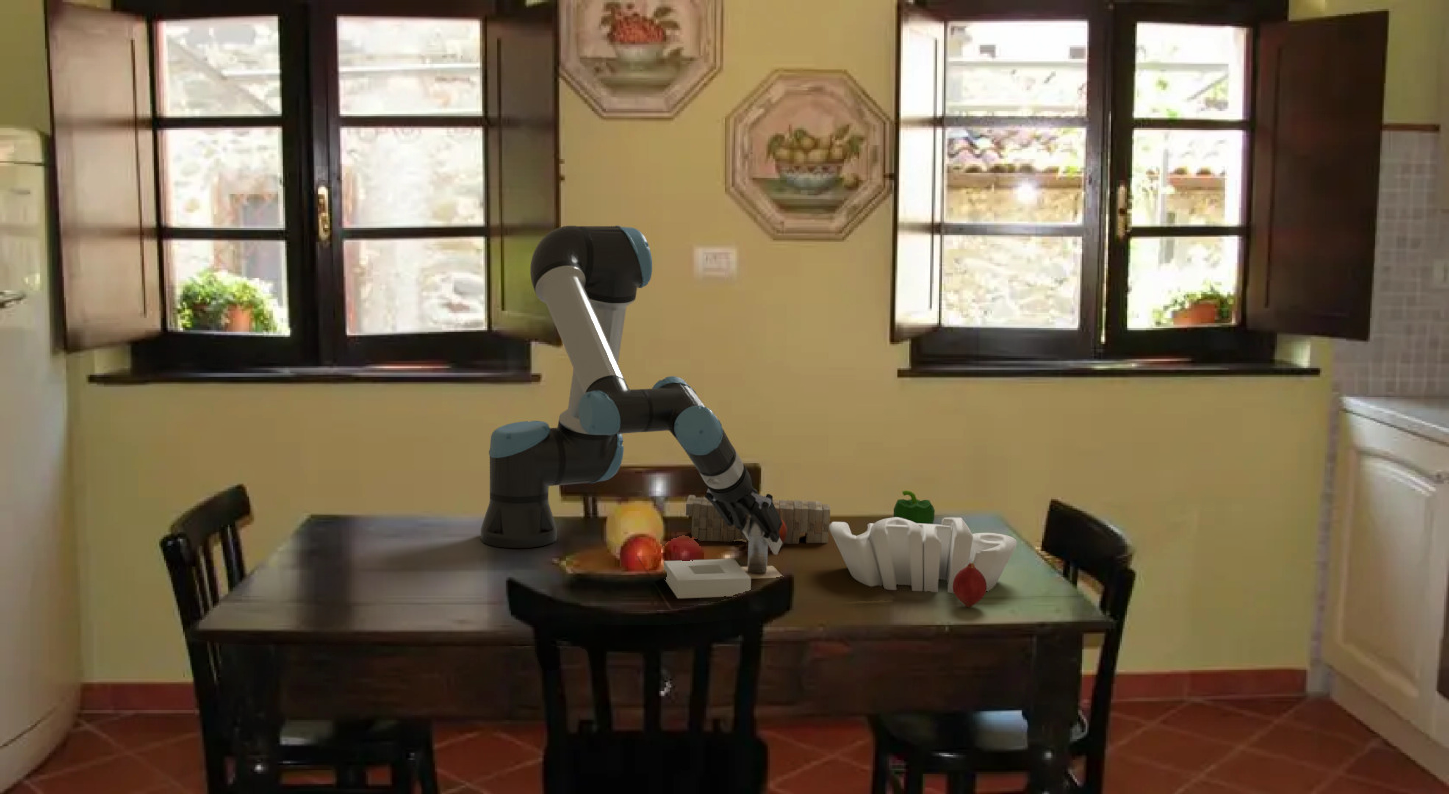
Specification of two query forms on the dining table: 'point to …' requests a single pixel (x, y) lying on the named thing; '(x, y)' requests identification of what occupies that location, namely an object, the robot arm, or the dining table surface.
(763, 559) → the pin
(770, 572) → the coaster
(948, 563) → the white wavy slab sculpture
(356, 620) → the dining table surface
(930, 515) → the bell pepper
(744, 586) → the slot block
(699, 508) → the block tower
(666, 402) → the robot arm
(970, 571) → the onion
